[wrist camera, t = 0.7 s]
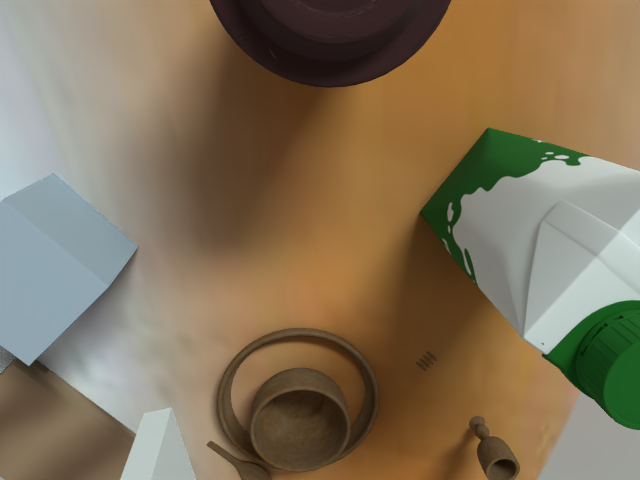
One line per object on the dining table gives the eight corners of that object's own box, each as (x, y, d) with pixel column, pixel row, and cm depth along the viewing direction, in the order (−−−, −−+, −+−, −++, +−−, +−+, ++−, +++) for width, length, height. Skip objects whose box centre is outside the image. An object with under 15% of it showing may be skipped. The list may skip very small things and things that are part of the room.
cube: (-14, 245, 37) (-79, 287, 30) (54, 172, 36) (2, 199, 29) (71, 313, 39) (28, 366, 32) (138, 246, 37) (109, 286, 31)
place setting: (318, 259, 39) (325, 293, 34) (504, 411, 44) (536, 462, 39) (166, 423, 42) (149, 478, 37) (355, 547, 48) (366, 611, 42)
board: (-47, 420, 40) (-61, 436, 39) (23, 350, 39) (12, 363, 37) (125, 535, 45) (119, 554, 43) (193, 476, 43) (189, 493, 42)
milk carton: (401, 214, 38) (523, 370, 19) (488, 105, 36) (721, 159, 17) (493, 282, 40) (686, 484, 21) (580, 183, 38) (878, 307, 19)
